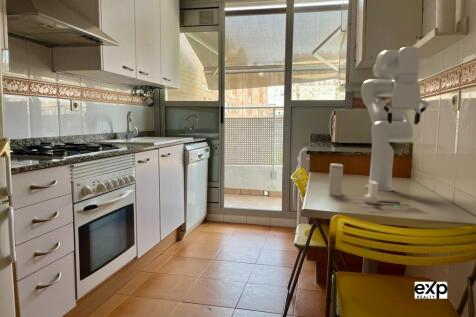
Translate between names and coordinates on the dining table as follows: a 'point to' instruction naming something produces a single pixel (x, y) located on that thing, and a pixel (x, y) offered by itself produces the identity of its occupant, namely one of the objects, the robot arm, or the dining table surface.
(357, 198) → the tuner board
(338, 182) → the supplement box
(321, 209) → the dining table surface
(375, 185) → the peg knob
